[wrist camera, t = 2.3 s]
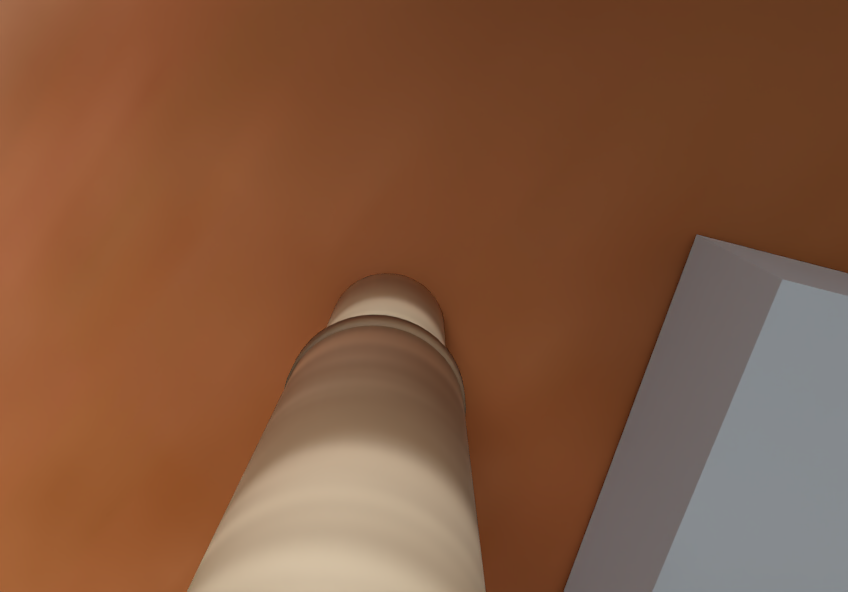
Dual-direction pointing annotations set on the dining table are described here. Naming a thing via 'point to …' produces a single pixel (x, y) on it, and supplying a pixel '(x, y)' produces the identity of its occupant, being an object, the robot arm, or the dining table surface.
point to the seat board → (733, 438)
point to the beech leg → (359, 463)
